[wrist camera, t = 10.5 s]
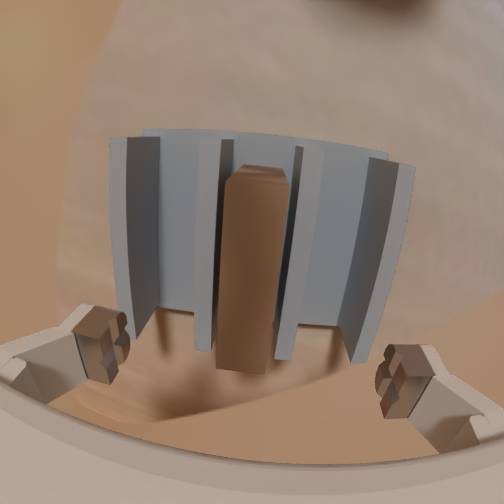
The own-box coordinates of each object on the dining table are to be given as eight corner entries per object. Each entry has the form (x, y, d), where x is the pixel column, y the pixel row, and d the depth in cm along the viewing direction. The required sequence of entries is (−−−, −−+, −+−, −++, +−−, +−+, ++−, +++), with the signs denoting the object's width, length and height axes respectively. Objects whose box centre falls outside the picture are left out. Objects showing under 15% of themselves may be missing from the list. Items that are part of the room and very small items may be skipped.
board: (282, 168, 19) (290, 187, 11) (267, 297, 22) (264, 373, 15) (243, 164, 19) (225, 180, 11) (233, 293, 22) (216, 368, 15)
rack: (383, 151, 19) (422, 158, 13) (349, 319, 24) (367, 369, 18) (148, 129, 19) (105, 128, 14) (149, 298, 24) (119, 342, 18)
